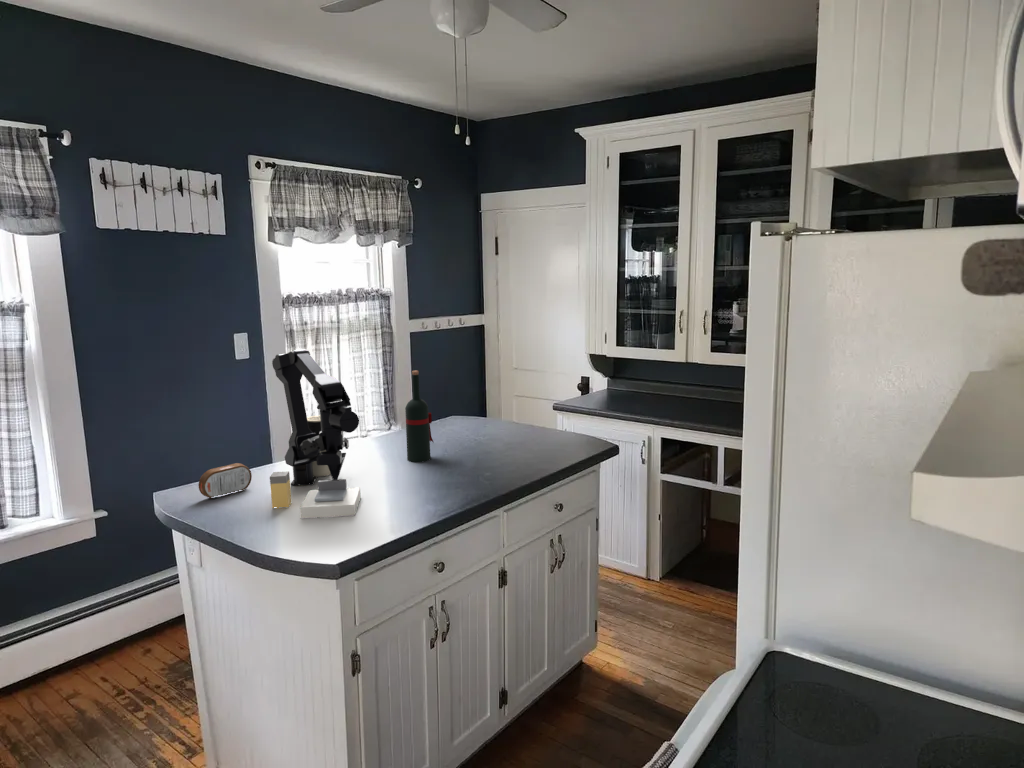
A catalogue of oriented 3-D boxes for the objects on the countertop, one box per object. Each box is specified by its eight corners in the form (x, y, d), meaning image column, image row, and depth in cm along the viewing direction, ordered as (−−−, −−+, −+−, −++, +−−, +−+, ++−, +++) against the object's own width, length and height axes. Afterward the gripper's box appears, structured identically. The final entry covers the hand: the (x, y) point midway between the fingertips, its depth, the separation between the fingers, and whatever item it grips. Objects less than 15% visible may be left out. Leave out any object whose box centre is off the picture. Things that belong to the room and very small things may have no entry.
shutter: (319, 492, 186) (318, 480, 185) (346, 490, 186) (346, 479, 186) (314, 501, 178) (313, 489, 178) (343, 500, 179) (342, 487, 179)
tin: (248, 486, 202) (246, 459, 201) (254, 488, 200) (252, 461, 199) (199, 500, 191) (196, 472, 189) (204, 503, 189) (201, 474, 187)
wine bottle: (440, 456, 230) (437, 369, 224) (417, 463, 222) (413, 373, 217) (425, 452, 235) (421, 367, 229) (402, 459, 227) (398, 371, 222)
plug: (276, 503, 187) (273, 472, 186) (291, 502, 188) (289, 471, 186) (272, 508, 183) (269, 476, 182) (288, 507, 184) (285, 476, 182)
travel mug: (326, 478, 209) (322, 421, 206) (303, 476, 211) (299, 420, 208) (338, 470, 216) (335, 415, 213) (316, 469, 218) (312, 414, 215)
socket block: (310, 500, 189) (309, 490, 189) (360, 497, 190) (360, 487, 190) (300, 518, 176) (299, 507, 175) (354, 515, 177) (354, 504, 176)
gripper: (308, 420, 195) (312, 472, 198) (294, 436, 177) (299, 493, 180) (347, 418, 197) (350, 470, 199) (338, 434, 178) (341, 490, 181)
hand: (335, 480), depth 190 cm, fingers closed
